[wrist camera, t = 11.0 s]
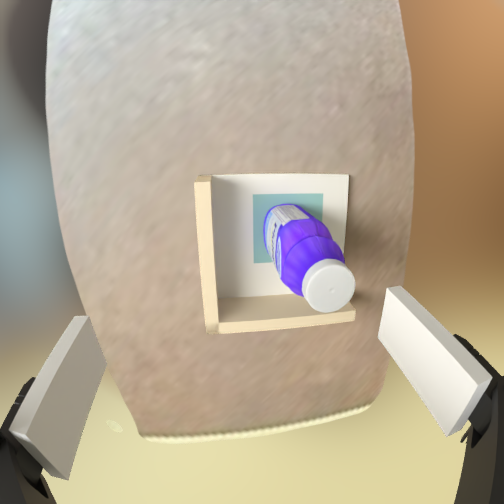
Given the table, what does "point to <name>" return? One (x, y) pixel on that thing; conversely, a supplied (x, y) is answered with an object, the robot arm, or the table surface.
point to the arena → (259, 248)
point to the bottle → (307, 258)
